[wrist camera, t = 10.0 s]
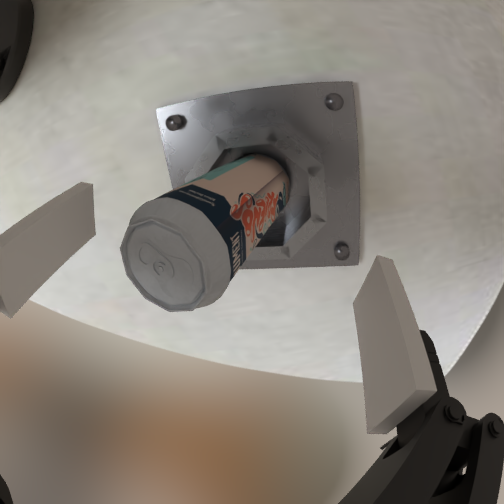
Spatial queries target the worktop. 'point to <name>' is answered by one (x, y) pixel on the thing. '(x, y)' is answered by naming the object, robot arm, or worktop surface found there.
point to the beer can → (203, 232)
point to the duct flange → (287, 155)
